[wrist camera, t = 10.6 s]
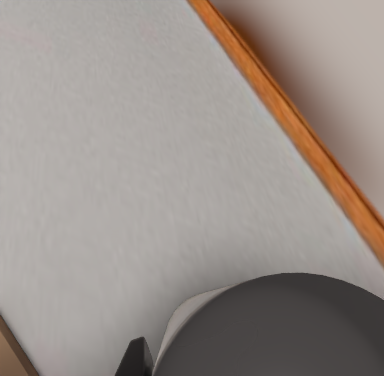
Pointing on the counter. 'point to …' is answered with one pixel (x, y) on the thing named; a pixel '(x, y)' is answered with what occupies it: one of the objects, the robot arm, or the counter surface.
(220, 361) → the metal canister
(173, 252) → the counter surface
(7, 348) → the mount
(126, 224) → the counter surface
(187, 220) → the counter surface
